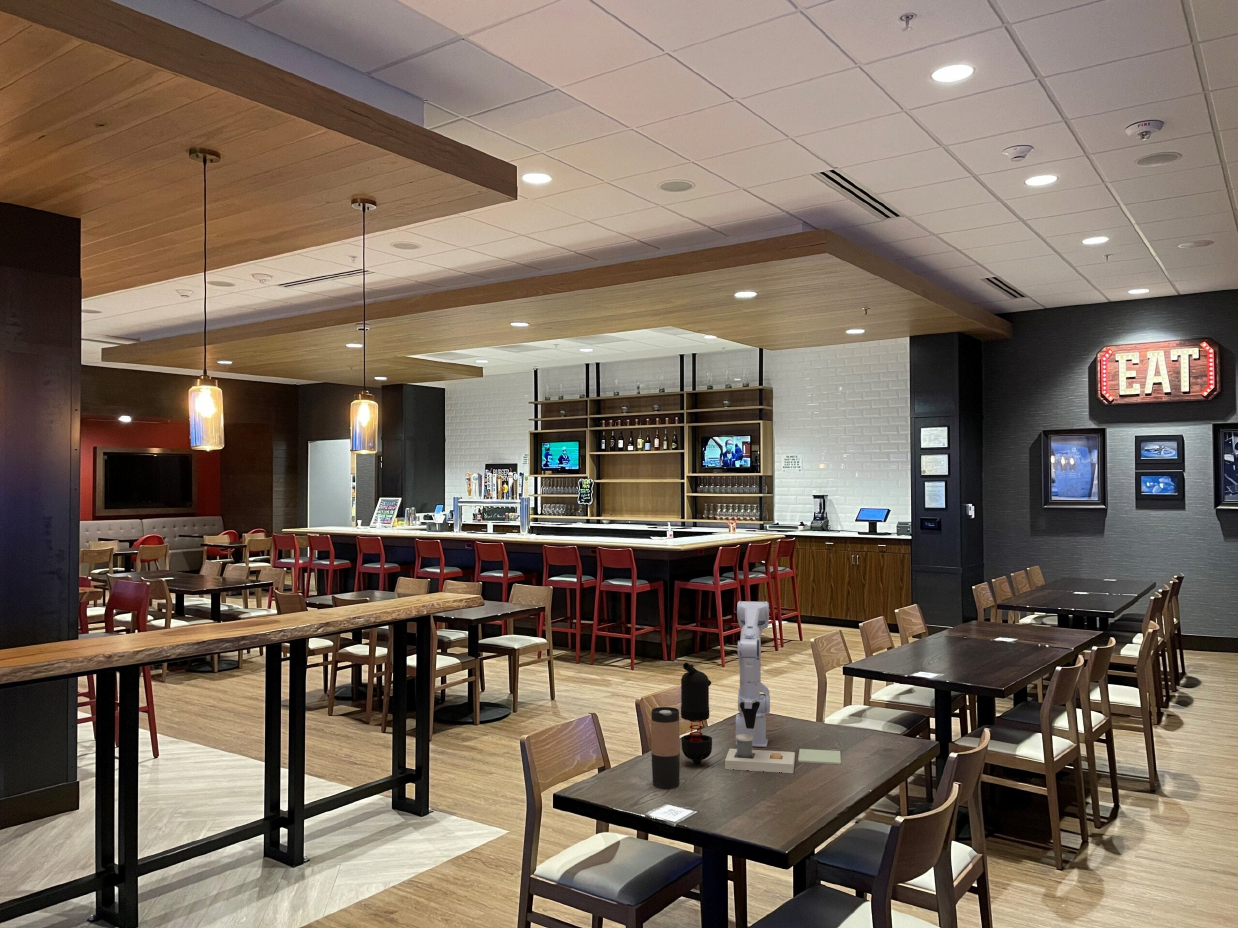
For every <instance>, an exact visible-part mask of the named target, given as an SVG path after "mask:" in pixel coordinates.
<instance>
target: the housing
mask: <svg viewBox="0 0 1238 928" xmlns="http://www.w3.org/2000/svg"><path fill="white" fill-rule="evenodd" d="M772 753H779V754H781V759H771V754H772ZM795 756H796V752H794V751H779V750H778V751H777V750H762V749H761V750H760V749H752V759H751V758H737V748H729V749H728V752H727V755H726V757H725V760H724V764H725V765H724V769H725V770H730V771H731V770H733V769H734V770H733V771H746V770H749V772H750V771H751V772H763V771H764V773H779V772H780V773H781V772H782V773H781V774H794V770H795V763H796V761H795V760H796V757H795Z"/></svg>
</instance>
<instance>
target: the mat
mask: <svg viewBox="0 0 1238 928" xmlns="http://www.w3.org/2000/svg"><path fill="white" fill-rule="evenodd" d="M797 759H798V761H797V762H798V763H806V764H809V763H810V764H822V765H823V764H826V765H839V766H840V765H841V763H842V761H841V751H840V750H825V749H811V748H810V749H807V748H799V752H798V758H797Z"/></svg>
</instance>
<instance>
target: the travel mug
mask: <svg viewBox="0 0 1238 928" xmlns="http://www.w3.org/2000/svg"><path fill="white" fill-rule="evenodd" d="M650 718H651V720H650V721H651V724H650V725H651V727H650V728H651V729H650V730H651V736H650V739H651V742H650V743H651V745H650V746H651V749H650V750H651V770H652V773H651V774H652V786H653V787H655V788H657V789H660V790H661V789H662V790H672V789H677V788H678V787H679V786H680V768H681V767H680V765H681V763H680V762H681V747H680V745H681V743H680V739H681V738H680V710H679V708H676V707H673V706H672V707H671V706H659V707H658V706H657V707H654V708H652V709H651V717H650Z"/></svg>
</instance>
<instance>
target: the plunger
mask: <svg viewBox="0 0 1238 928" xmlns="http://www.w3.org/2000/svg"><path fill="white" fill-rule="evenodd" d="M771 759H781V754H779V753H772V754H771Z"/></svg>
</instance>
